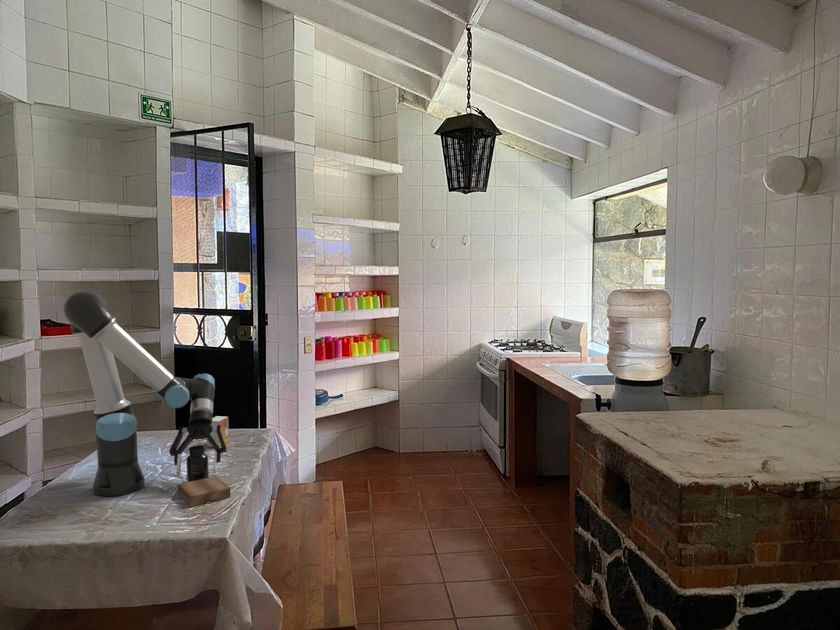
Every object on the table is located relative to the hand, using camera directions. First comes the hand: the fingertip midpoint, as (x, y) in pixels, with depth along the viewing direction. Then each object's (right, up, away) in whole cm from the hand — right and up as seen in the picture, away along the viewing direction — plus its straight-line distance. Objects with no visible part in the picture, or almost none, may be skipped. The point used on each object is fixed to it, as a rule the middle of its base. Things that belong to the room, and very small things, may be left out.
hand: (196, 472), depth 199 cm
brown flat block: (+5, -5, -8) cm, 11 cm away
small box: (-8, -1, +46) cm, 46 cm away
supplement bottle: (-1, -4, +3) cm, 5 cm away
